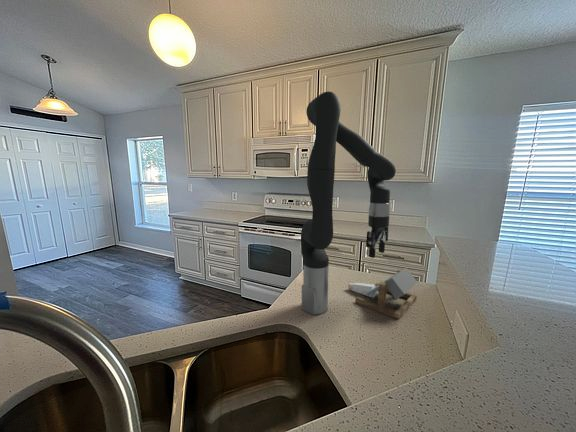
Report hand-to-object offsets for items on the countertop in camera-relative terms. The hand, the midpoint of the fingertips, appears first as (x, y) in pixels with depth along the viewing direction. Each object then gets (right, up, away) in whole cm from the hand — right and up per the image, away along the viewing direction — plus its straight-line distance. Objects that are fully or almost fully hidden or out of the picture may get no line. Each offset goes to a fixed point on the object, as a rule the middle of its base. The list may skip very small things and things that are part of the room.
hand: (376, 254), depth 97 cm
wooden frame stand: (+4, -18, 0) cm, 19 cm away
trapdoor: (+7, -15, -4) cm, 17 cm away
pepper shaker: (0, -15, +2) cm, 16 cm away
